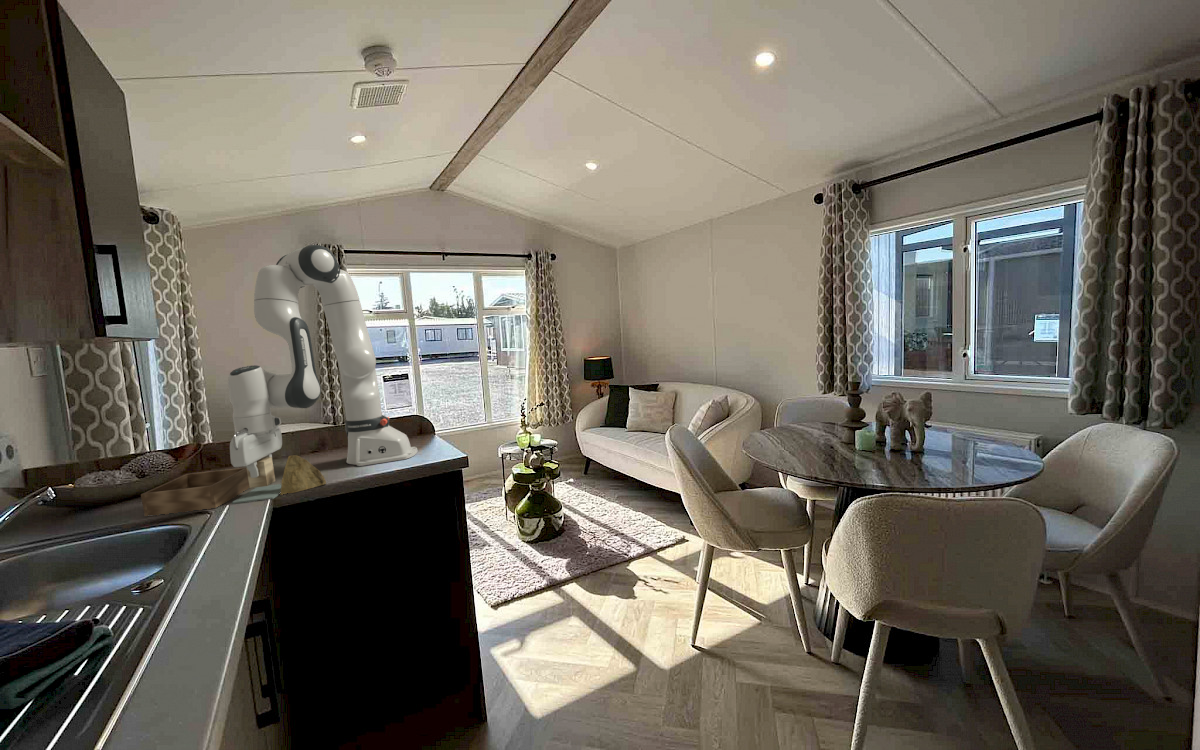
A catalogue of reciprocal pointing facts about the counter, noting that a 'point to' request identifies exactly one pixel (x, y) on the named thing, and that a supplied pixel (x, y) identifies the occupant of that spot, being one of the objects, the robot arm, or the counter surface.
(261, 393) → the robot arm
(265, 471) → the block
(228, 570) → the counter surface
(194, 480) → the crate
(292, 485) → the rock
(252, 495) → the mat
